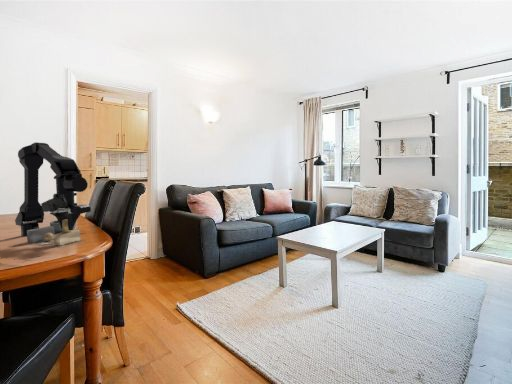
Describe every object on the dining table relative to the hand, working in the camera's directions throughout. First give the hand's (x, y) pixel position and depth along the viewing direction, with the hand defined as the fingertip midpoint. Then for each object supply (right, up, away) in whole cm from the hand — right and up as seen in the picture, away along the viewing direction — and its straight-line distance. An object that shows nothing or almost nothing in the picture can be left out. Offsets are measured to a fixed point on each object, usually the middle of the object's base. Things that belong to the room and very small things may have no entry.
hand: (67, 229), depth 112 cm
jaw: (0, -5, 0) cm, 5 cm away
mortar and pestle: (-13, -6, +18) cm, 23 cm away
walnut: (-9, -5, +3) cm, 11 cm away
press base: (-6, -7, +2) cm, 9 cm away
